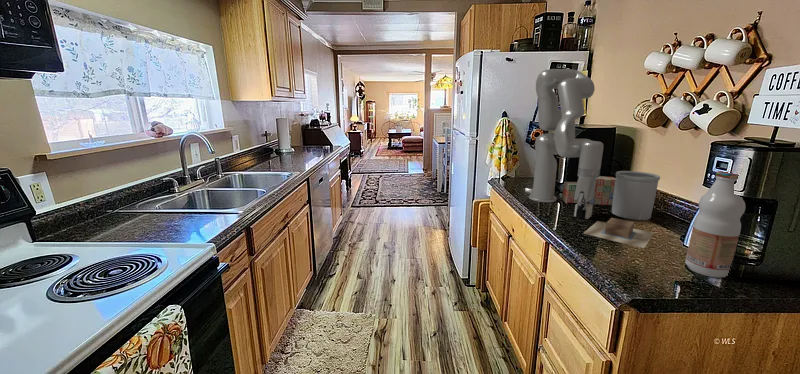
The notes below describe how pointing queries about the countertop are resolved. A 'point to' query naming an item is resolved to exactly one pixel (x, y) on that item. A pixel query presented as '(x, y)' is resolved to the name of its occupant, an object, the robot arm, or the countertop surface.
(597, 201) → the stack of blocks
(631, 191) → the utensil holder
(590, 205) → the cream block
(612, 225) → the walnut foundation
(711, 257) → the fruit juice
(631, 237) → the board
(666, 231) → the countertop surface
